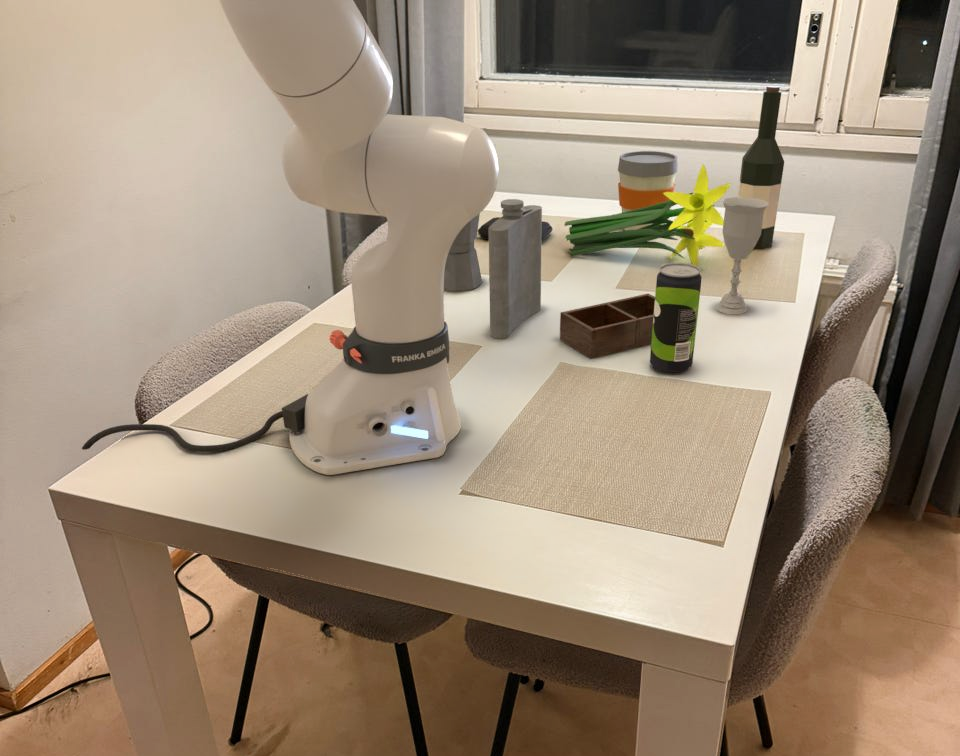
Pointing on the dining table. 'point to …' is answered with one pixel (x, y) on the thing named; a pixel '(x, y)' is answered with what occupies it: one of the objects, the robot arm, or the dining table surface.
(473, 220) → the coffeepot
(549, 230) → the carrying case
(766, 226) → the wine bottle
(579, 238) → the daffodil flowers
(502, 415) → the dining table surface
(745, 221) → the chalice
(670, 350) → the beverage can
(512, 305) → the hip flask
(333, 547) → the dining table surface
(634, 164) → the reusable coffee cup
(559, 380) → the dining table surface
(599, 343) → the divided box
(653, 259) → the dining table surface
